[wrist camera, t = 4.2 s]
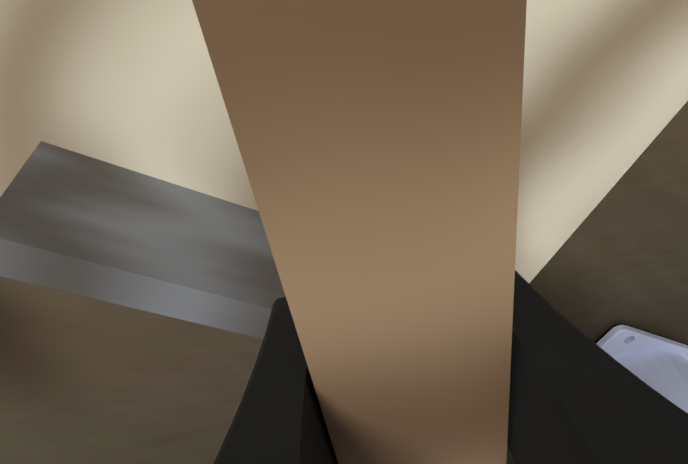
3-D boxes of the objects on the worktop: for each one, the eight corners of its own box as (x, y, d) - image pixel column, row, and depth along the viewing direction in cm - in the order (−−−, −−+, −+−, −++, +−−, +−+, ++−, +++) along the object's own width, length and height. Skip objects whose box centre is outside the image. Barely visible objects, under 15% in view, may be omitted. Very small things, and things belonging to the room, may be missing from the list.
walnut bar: (459, 464, 16) (500, 601, 13) (368, 481, 16) (388, 621, 13) (422, -228, 7) (538, -264, 4) (194, -182, 7) (134, -183, 4)
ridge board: (763, -41, 17) (960, 14, 12) (473, 311, 25) (521, 428, 20) (63, -550, 10) (-129, -896, 5) (-23, 164, 18) (-128, 288, 13)
